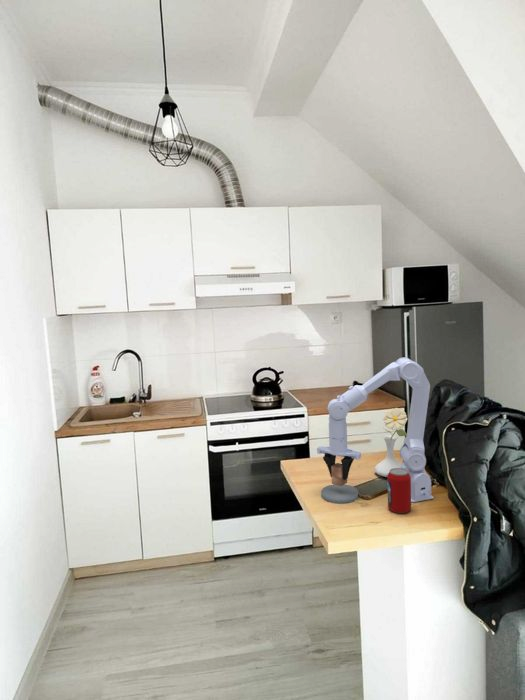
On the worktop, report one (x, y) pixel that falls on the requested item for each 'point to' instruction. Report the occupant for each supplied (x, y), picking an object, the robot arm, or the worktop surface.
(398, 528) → the worktop surface
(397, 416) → the flower in vase
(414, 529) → the worktop surface
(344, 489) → the slate base plate
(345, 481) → the terracotta block
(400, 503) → the beverage can
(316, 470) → the worktop surface
